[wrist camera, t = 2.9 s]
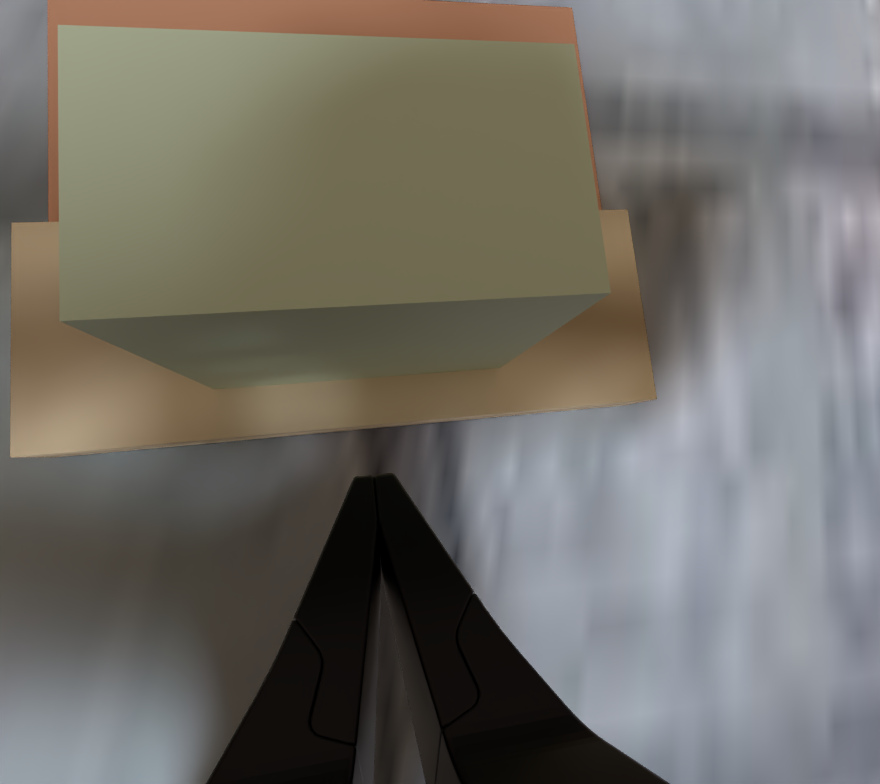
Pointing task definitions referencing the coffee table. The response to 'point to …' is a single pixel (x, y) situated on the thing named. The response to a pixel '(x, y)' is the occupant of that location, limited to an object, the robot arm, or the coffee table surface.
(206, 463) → the coffee table surface
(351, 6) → the rubber mat
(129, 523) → the coffee table surface
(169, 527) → the coffee table surface
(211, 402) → the birch board
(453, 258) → the green block
